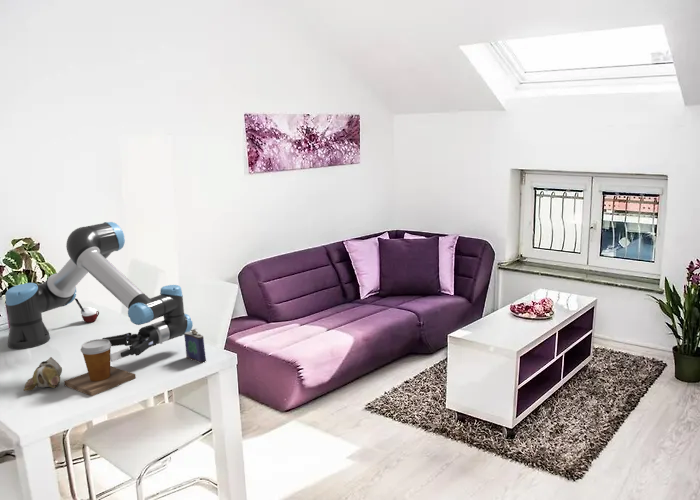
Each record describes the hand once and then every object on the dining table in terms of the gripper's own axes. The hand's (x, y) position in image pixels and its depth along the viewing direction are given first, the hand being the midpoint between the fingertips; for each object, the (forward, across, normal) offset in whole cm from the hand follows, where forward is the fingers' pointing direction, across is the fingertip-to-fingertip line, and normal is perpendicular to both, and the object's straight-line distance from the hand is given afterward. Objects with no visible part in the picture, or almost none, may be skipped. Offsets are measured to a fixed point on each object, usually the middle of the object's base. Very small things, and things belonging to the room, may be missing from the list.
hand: (98, 353), depth 198 cm
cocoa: (-35, +67, -10) cm, 76 cm away
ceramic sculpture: (+12, +14, -10) cm, 21 cm away
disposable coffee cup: (+1, 0, -8) cm, 8 cm away
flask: (-30, -12, -10) cm, 34 cm away
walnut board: (+1, 0, -10) cm, 10 cm away
